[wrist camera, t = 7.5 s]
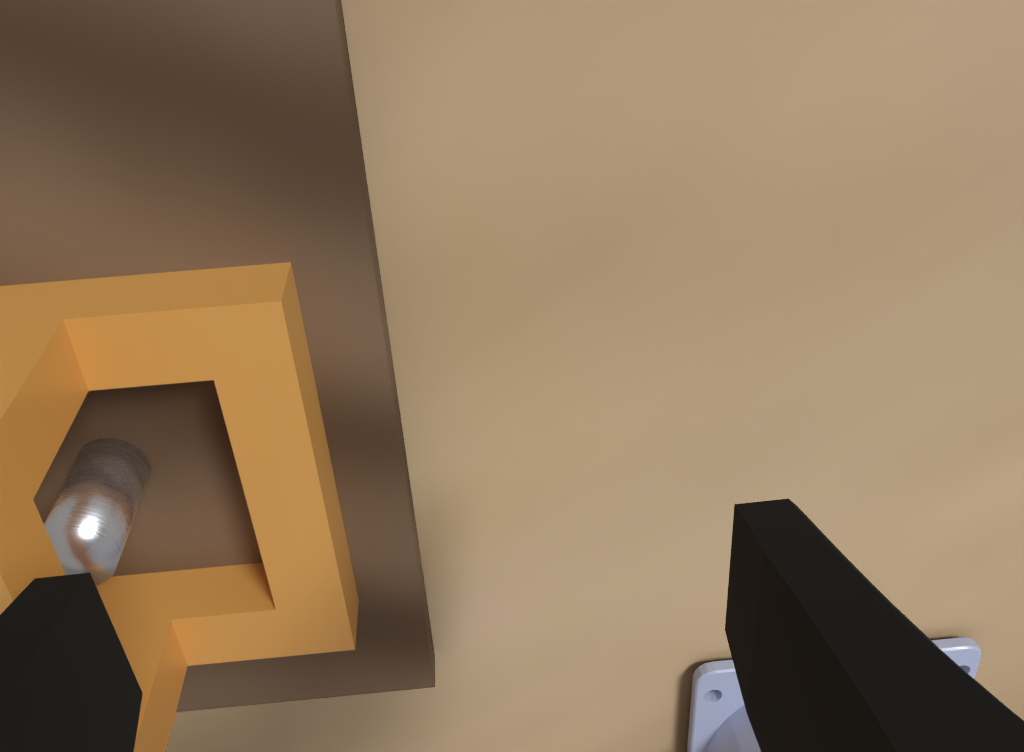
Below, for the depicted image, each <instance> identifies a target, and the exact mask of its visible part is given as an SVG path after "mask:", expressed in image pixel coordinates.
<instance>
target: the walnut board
mask: <svg viewBox="0 0 1024 752" xmlns="http://www.w3.org/2000/svg"><path fill="white" fill-rule="evenodd" d="M287 262H291V265H292V270H293V275H294V280H295V285H296V290H297V295H298V300H299V305H300V310H301V315H302V320H303V325H304V329H305V334H306V339H307V344H308V349H309V354H310V359H311V364H312V369H313V374H314V379H315V384H316V389H317V394H318V399H319V404H320V409H321V414H322V419H323V424H324V429H325V434H326V439H327V444H328V449H329V454H330V459H331V464H332V469H333V474H334V479H335V484H336V489H337V494H338V499H339V504H340V509H341V514H342V519H343V524H344V529H345V534H346V539H347V544H348V549H349V554H350V559H351V564H352V569H353V574H354V579H355V584H356V589H357V594H358V599H359V605H358V618H357V632H356V645H355V650H347V651H337V652H327V653H316V654H306V655H296V656H285V657H275V658H265V659H254V660H244V661H233V662H223V663H213V664H202V665H192V666H188V667H187V671H186V675H185V679H184V683H183V686H182V690H181V694H180V698H179V702H178V706H177V710H176V712H182V711H193V710H203V709H213V708H224V707H234V706H244V705H254V704H265V703H275V702H285V701H296V700H306V699H316V698H327V697H337V696H347V695H358V694H368V693H378V692H388V691H399V690H409V689H419V688H430V687H435V655H434V648H433V641H432V634H431V627H430V620H429V613H428V606H427V599H426V592H425V585H424V578H423V571H422V564H421V557H420V550H419V543H418V536H417V529H416V522H415V515H414V508H413V501H412V494H411V487H410V480H409V473H408V466H407V459H406V452H405V445H404V438H403V431H402V424H401V417H400V410H399V403H398V396H397V389H396V382H395V375H394V368H393V361H392V354H391V347H390V340H389V333H388V326H387V319H386V312H385V305H384V298H383V291H382V284H381V277H380V270H379V263H378V256H377V249H376V242H375V235H374V228H373V221H372V214H371V207H370V200H369V193H368V186H367V179H366V172H365V165H364V158H363V151H362V144H361V137H360V130H359V123H358V116H357V109H356V102H355V95H354V88H353V81H352V74H351V67H350V60H349V53H348V46H347V39H346V32H345V25H344V18H343V11H342V4H341V0H0V286H7V285H20V284H32V283H44V282H56V281H68V280H80V279H93V278H105V277H117V276H129V275H141V274H153V273H165V272H178V271H190V270H202V269H214V268H226V267H238V266H251V265H263V264H275V263H287ZM101 438H115V439H120V440H124V441H127V442H129V443H131V444H133V445H135V446H136V447H138V448H139V449H140V450H141V451H142V452H143V453H144V454H145V455H146V456H147V458H148V460H149V462H150V465H151V475H150V478H149V481H148V484H147V486H146V489H145V492H144V495H143V497H142V500H141V503H140V505H139V508H138V511H137V513H136V516H135V519H134V522H133V524H132V527H131V530H130V532H129V535H128V538H127V540H126V543H125V546H124V549H123V551H122V554H121V557H120V559H119V562H118V565H117V568H116V570H115V572H114V574H113V575H112V577H114V576H124V575H135V574H146V573H157V572H167V571H178V570H189V569H200V568H210V567H221V566H232V565H243V564H253V563H263V560H262V557H261V553H260V549H259V546H258V542H257V538H256V534H255V531H254V527H253V523H252V520H251V516H250V512H249V509H248V505H247V501H246V497H245V494H244V490H243V486H242V483H241V479H240V475H239V472H238V468H237V464H236V461H235V457H234V453H233V449H232V446H231V442H230V438H229V435H228V431H227V427H226V424H225V420H224V416H223V412H222V409H221V405H220V401H219V398H218V394H217V390H216V387H215V383H214V380H209V381H197V382H185V383H174V384H162V385H151V386H139V387H127V388H116V389H104V390H93V391H88V393H87V395H86V397H85V399H84V401H83V403H82V405H81V407H80V409H79V411H78V413H77V415H76V417H75V419H74V421H73V423H72V424H71V426H70V428H69V430H68V432H67V434H66V436H65V438H64V440H63V442H62V444H61V446H60V448H59V450H58V452H57V454H56V456H55V458H54V460H53V462H52V464H51V465H50V467H49V469H48V471H47V473H46V475H45V477H44V479H43V481H42V483H41V485H40V487H39V489H38V491H37V493H36V495H35V497H34V499H33V500H34V503H35V505H36V507H37V510H38V512H39V514H40V517H41V519H42V521H43V524H44V523H45V521H46V519H47V517H48V515H49V513H50V511H51V509H52V507H53V505H54V502H55V500H56V498H57V496H58V494H59V492H60V490H61V488H62V486H63V484H64V482H65V480H66V478H67V475H68V473H69V471H70V469H71V467H72V465H73V463H74V461H75V459H76V457H77V455H78V453H79V451H80V449H81V448H82V447H83V446H84V445H86V444H87V443H89V442H91V441H93V440H96V439H101Z"/></svg>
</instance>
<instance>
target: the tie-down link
mask: <svg viewBox="0 0 1024 752" xmlns="http://www.w3.org/2000/svg"><path fill="white" fill-rule="evenodd" d="M209 380H214V383H215V387H216V390H217V394H218V398H219V401H220V405H221V409H222V412H223V416H224V420H225V424H226V427H227V431H228V435H229V438H230V442H231V446H232V449H233V453H234V457H235V461H236V464H237V468H238V472H239V475H240V479H241V483H242V486H243V490H244V494H245V497H246V501H247V505H248V509H249V512H250V516H251V520H252V523H253V527H254V531H255V534H256V538H257V542H258V546H259V549H260V553H261V557H262V560H263V563H253V564H243V565H232V566H221V567H210V568H200V569H189V570H178V571H167V572H157V573H146V574H135V575H124V576H114V577H111V578H109V579H108V580H107V581H106V582H104V583H102V584H99V585H97V586H96V587H97V590H98V592H99V594H100V597H101V599H102V601H103V603H104V606H105V608H106V610H107V613H108V615H109V617H110V619H111V622H112V624H113V626H114V629H115V631H116V633H117V635H118V638H119V640H120V642H121V645H122V647H123V649H124V651H125V654H126V656H127V658H128V661H129V663H130V665H131V668H132V670H133V672H134V674H135V677H136V679H137V681H138V684H139V686H140V688H141V690H142V693H143V694H142V701H141V708H140V714H139V721H138V727H137V734H136V741H135V746H134V752H166V750H167V746H168V742H169V738H170V734H171V730H172V726H173V722H174V718H175V714H176V710H177V706H178V702H179V698H180V694H181V690H182V686H183V683H184V679H185V675H186V671H187V667H188V666H192V665H202V664H213V663H223V662H233V661H244V660H254V659H265V658H275V657H285V656H296V655H306V654H316V653H327V652H337V651H347V650H355V645H356V632H357V618H358V605H359V599H358V594H357V589H356V584H355V579H354V574H353V569H352V564H351V559H350V554H349V549H348V544H347V539H346V534H345V529H344V524H343V519H342V514H341V509H340V504H339V499H338V494H337V489H336V484H335V479H334V474H333V469H332V464H331V459H330V454H329V449H328V444H327V439H326V434H325V429H324V424H323V419H322V414H321V409H320V404H319V399H318V394H317V389H316V384H315V379H314V374H313V369H312V364H311V359H310V354H309V349H308V344H307V339H306V334H305V329H304V325H303V320H302V315H301V310H300V305H299V300H298V295H297V290H296V285H295V280H294V275H293V270H292V265H291V262H287V263H275V264H263V265H251V266H238V267H226V268H214V269H202V270H190V271H178V272H165V273H153V274H141V275H129V276H117V277H105V278H93V279H80V280H68V281H56V282H44V283H32V284H20V285H7V286H0V615H1V614H2V613H3V611H4V610H5V609H6V608H7V607H8V606H9V605H10V604H11V603H12V602H13V601H14V600H15V599H16V597H17V596H18V595H19V594H20V593H21V592H22V591H23V590H24V589H25V588H26V587H27V586H28V585H29V584H30V583H31V582H32V581H33V580H34V579H35V578H44V577H53V576H63V575H65V572H64V570H63V568H62V565H61V563H60V561H59V558H58V556H57V554H56V551H55V549H54V547H53V544H52V542H51V540H50V537H49V535H48V533H47V531H46V528H45V526H44V524H43V521H42V519H41V517H40V514H39V512H38V510H37V507H36V505H35V503H34V500H33V499H34V497H35V495H36V493H37V491H38V489H39V487H40V485H41V483H42V481H43V479H44V477H45V475H46V473H47V471H48V469H49V467H50V465H51V464H52V462H53V460H54V458H55V456H56V454H57V452H58V450H59V448H60V446H61V444H62V442H63V440H64V438H65V436H66V434H67V432H68V430H69V428H70V426H71V424H72V423H73V421H74V419H75V417H76V415H77V413H78V411H79V409H80V407H81V405H82V403H83V401H84V399H85V397H86V395H87V393H88V391H93V390H104V389H116V388H127V387H139V386H151V385H162V384H174V383H185V382H197V381H209Z"/></svg>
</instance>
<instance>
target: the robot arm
mask: <svg viewBox="0 0 1024 752" xmlns="http://www.w3.org/2000/svg"><path fill="white" fill-rule="evenodd" d="M725 631H726V635H727V639H728V643H729V647H730V651H731V655H732V659H733V660H723V661H713V662H708V663H704V664H702V665H701V666H699V667H698V668H697V669H696V670H695V672H694V674H693V682H692V695H691V707H690V720H689V732H688V745H687V752H1024V721H1023V720H1022V719H1021V718H1019V717H1018V716H1017V715H1016V714H1015V713H1013V712H1012V711H1011V710H1010V709H1008V708H1007V707H1006V706H1005V705H1004V704H1003V703H1001V702H1000V701H999V700H998V699H997V698H996V697H994V696H993V695H992V694H991V693H990V692H989V691H987V690H986V689H985V688H984V687H983V686H982V685H980V684H979V683H978V682H977V681H976V680H975V679H974V678H975V675H976V672H977V669H978V666H979V663H980V660H981V657H982V652H981V650H980V648H979V647H978V645H977V643H976V642H975V641H974V640H973V639H971V638H965V637H960V638H949V639H939V640H930V639H929V638H928V637H927V636H926V635H925V634H924V633H923V632H922V631H921V630H919V629H918V628H917V627H916V626H915V625H914V624H913V623H912V622H911V621H910V620H909V619H908V618H907V617H906V616H905V615H904V614H902V613H901V612H900V611H899V610H898V609H897V608H896V607H895V606H894V605H893V604H892V603H891V602H890V601H889V600H888V599H887V598H886V597H885V596H884V595H883V594H882V593H881V592H880V591H879V590H878V589H877V588H876V587H875V586H874V585H873V584H872V583H871V582H870V581H869V580H868V579H867V578H866V577H865V576H864V575H863V574H862V573H861V572H860V571H859V570H858V569H857V568H856V567H855V566H854V565H853V564H852V563H851V562H850V561H849V560H848V559H847V558H846V557H845V556H844V555H843V554H842V553H841V552H840V551H839V550H838V549H837V548H836V547H835V546H834V544H833V543H832V542H831V541H830V540H829V539H828V538H827V537H826V536H825V535H824V534H823V533H822V532H821V531H820V530H819V529H818V528H817V527H816V526H815V524H814V523H813V522H812V521H811V520H810V519H809V518H808V517H807V516H806V515H805V514H804V513H803V512H802V511H801V510H800V509H799V508H798V507H797V506H796V505H795V504H794V503H793V502H792V501H790V500H789V499H782V500H772V501H763V502H753V503H744V504H735V507H734V520H733V533H732V546H731V559H730V572H729V586H728V599H727V612H726V625H725ZM142 694H143V693H142V690H141V688H140V686H139V684H138V681H137V679H136V677H135V674H134V672H133V670H132V668H131V665H130V663H129V661H128V658H127V656H126V654H125V651H124V649H123V647H122V645H121V642H120V640H119V638H118V635H117V633H116V631H115V629H114V626H113V624H112V622H111V619H110V617H109V615H108V613H107V610H106V608H105V606H104V603H103V601H102V599H101V597H100V594H99V592H98V590H97V587H96V585H95V583H94V581H93V578H92V576H91V574H90V573H82V574H72V575H63V576H53V577H44V578H35V579H34V580H33V581H32V582H31V583H30V584H29V585H28V586H27V587H26V588H25V589H24V590H23V591H22V592H21V593H20V594H19V595H18V596H17V597H16V599H15V600H14V601H13V602H12V603H11V604H10V605H9V606H8V607H7V608H6V609H5V610H4V611H3V613H2V614H1V615H0V752H134V746H135V741H136V734H137V727H138V721H139V714H140V708H141V701H142Z"/></svg>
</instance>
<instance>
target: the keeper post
mask: <svg viewBox="0 0 1024 752" xmlns="http://www.w3.org/2000/svg"><path fill="white" fill-rule="evenodd" d="M150 475H151V465H150V462H149V460H148V458H147V456H146V455H145V454H144V453H143V452H142V451H141V450H140V449H139V448H138V447H136V446H135V445H133V444H131V443H129V442H127V441H124V440H120V439H115V438H101V439H96V440H93V441H91V442H89V443H87V444H86V445H84V446H83V447H82V448H81V449H80V451H79V453H78V455H77V457H76V459H75V461H74V463H73V465H72V467H71V469H70V471H69V473H68V475H67V478H66V480H65V482H64V484H63V486H62V488H61V490H60V492H59V494H58V496H57V498H56V500H55V502H54V505H53V507H52V509H51V511H50V513H49V515H48V517H47V519H46V521H45V523H44V526H45V528H46V531H47V533H48V535H49V537H50V540H51V542H52V544H53V547H54V549H55V551H56V554H57V556H58V558H59V561H60V563H61V565H62V568H63V570H64V572H65V575H72V574H82V573H90V574H91V576H92V578H93V581H94V583H95V585H96V586H97V585H99V584H102V583H104V582H106V581H107V580H108V579H109V578H111V577H112V575H113V574H114V572H115V570H116V568H117V565H118V562H119V559H120V557H121V554H122V551H123V549H124V546H125V543H126V540H127V538H128V535H129V532H130V530H131V527H132V524H133V522H134V519H135V516H136V513H137V511H138V508H139V505H140V503H141V500H142V497H143V495H144V492H145V489H146V486H147V484H148V481H149V478H150Z"/></svg>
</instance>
